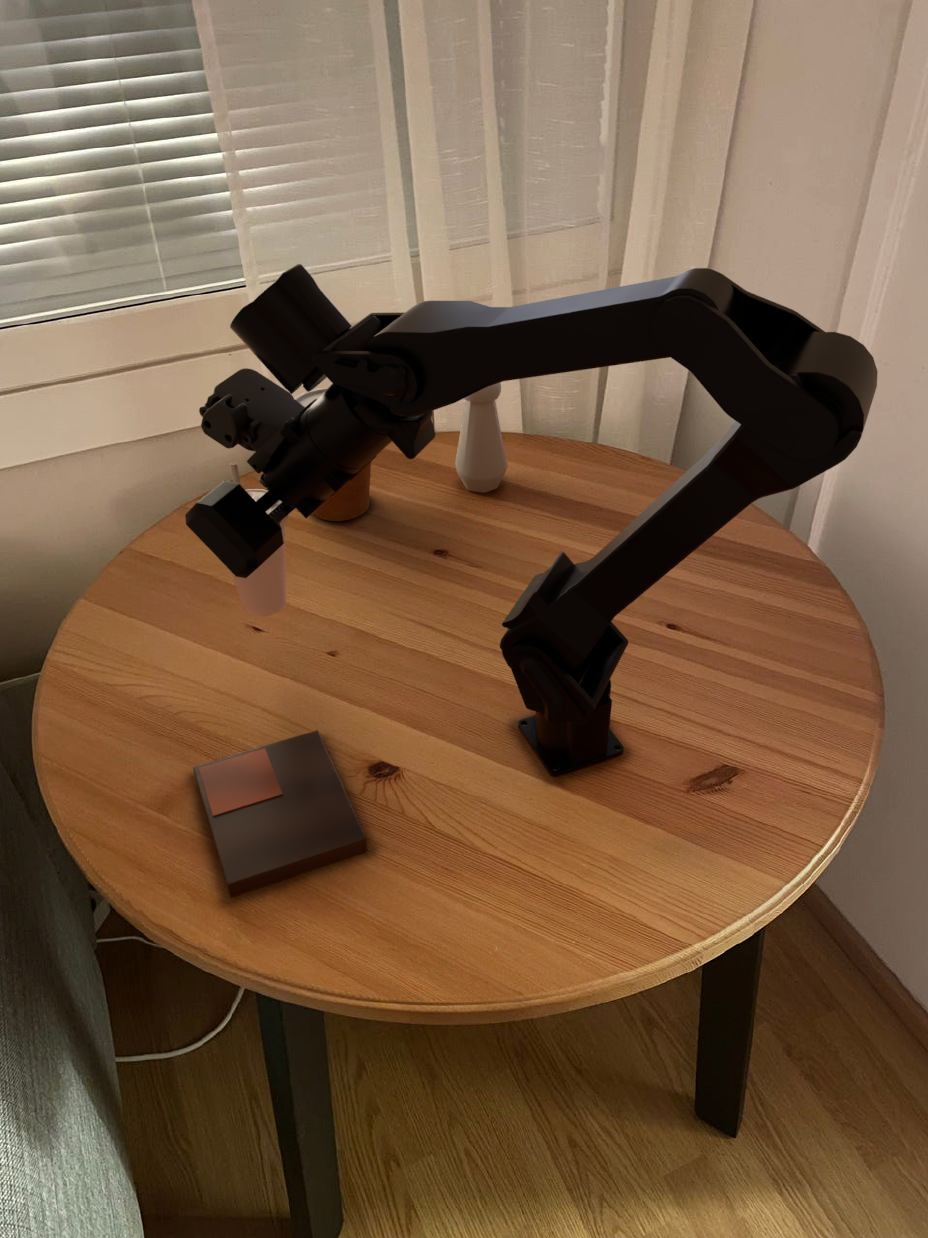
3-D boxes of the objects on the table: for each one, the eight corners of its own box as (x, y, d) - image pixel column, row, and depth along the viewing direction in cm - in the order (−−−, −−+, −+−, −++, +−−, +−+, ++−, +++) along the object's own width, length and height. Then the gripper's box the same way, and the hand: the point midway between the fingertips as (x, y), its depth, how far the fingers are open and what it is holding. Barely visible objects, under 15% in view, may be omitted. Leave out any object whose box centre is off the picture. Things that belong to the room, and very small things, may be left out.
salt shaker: (509, 471, 115) (510, 364, 107) (505, 497, 110) (507, 387, 102) (458, 469, 115) (456, 362, 107) (452, 495, 111) (450, 386, 103)
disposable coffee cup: (289, 492, 112) (275, 392, 105) (372, 478, 114) (364, 379, 107) (304, 536, 105) (290, 433, 97) (393, 520, 107) (386, 418, 100)
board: (367, 851, 72) (366, 837, 71) (230, 898, 69) (226, 883, 68) (319, 742, 81) (317, 728, 80) (196, 780, 78) (192, 765, 77)
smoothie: (211, 613, 86) (178, 469, 78) (257, 574, 90) (231, 434, 82) (271, 634, 84) (244, 488, 75) (316, 593, 88) (295, 450, 79)
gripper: (329, 302, 78) (235, 409, 88) (180, 401, 64) (90, 514, 75) (425, 412, 80) (322, 504, 90) (300, 530, 67) (196, 622, 77)
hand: (238, 531), depth 83 cm, fingers closed on smoothie, 6 cm apart
